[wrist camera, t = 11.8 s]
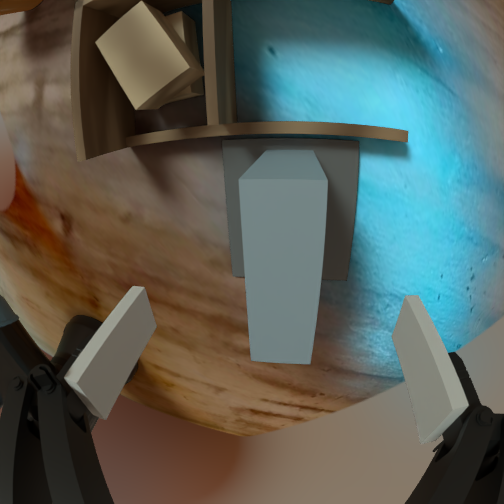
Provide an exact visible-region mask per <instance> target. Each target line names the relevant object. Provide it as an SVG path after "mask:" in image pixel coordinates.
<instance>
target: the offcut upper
mask: <svg viewBox="0 0 504 504" xmlns="http://www.w3.org/2000/svg"><path fill="white" fill-rule="evenodd" d="M95 43H96V44H97V46H98V48H99V49H100V51H101V53H102V55H103V56H104V58H105V60H106V61H107V63H108V65H109V66H110V68H111V70H112V72H113V73H114V75H115V77H116V78H117V80H118V82H119V83H120V85H121V87H122V88H123V90H124V91H125V93H126V95H127V96H128V98H129V100H130V101H131V103H132V105H133V106H134V108H135V109H136V110H145V109H159V108H160V107H161V106H162V105H164V104H165V103H166V102H168V101H169V100H170V99H171V98H173V97H174V96H175V95H177V94H178V93H180V92H181V91H182V90H184V89H185V88H186V87H188V86H189V85H191V84H192V83H194V82H195V81H196V80H198V79H199V78H201V77H202V76H204V75H205V73H204V70H203V68H202V67H201V65H200V64H199V63H198V61H197V60H196V58H195V57H194V55H193V54H192V53H191V51H190V50H189V48H188V47H187V46H186V44H185V43H184V41H183V40H182V39H181V37H180V36H179V35H178V33H177V32H176V30H175V29H174V28H173V26H172V25H171V24H170V22H169V21H168V20H167V18H166V17H165V16H164V14H163V13H162V12H161V11H159V10H157V9H156V8H154V7H152V6H150V5H149V4H147V3H145V2H143V1H140V2H139V3H138V4H137V5H135V6H134V7H133V8H132V9H131V10H129V11H128V12H127V13H126V14H125V15H124V16H122V17H121V18H120V19H119V20H118V21H117V22H116V23H115V24H114V25H112V26H111V27H110V28H109V29H108V30H107V31H106V32H105V33H104V34H103V35H102V36H101V37H100V38H99V39H98V40H97V41H96V42H95Z"/></svg>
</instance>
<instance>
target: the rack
mask: <svg viewBox="0 0 504 504" xmlns="http://www.w3.org/2000/svg"><path fill="white" fill-rule="evenodd" d="M140 1H143V2H145V3H147V4H149V5H150V6H152V7H154V8H156V9H157V10H159V11H161V12H162V13H164V12H167V11H171V10H174V9H178V8H182V7H187V6H191V5H195V4H200V3H202V16H203V49H204V73H205V92H206V109H207V124H208V125H204V126H195V127H186V128H178V129H171V130H164V131H158V132H152V133H146V134H141V135H136V127H135V116H134V106H133V105H132V103H131V101H130V100H129V98H128V96H127V95H126V93H125V91H124V90H123V88H122V87H121V85H120V83H119V82H118V80H117V78H116V77H115V75H114V73H113V72H112V70H111V68H110V66H109V65H108V63H107V61H106V60H105V58H104V56H103V55H102V53H101V51H100V49H99V48H98V46H97V44H96V43H95V42H96V41H97V40H98V39H99V38H100V37H101V36H102V35H103V34H104V33H105V32H106V31H107V30H108V29H109V28H110V27H111V26H112V25H114V24H115V23H116V22H117V21H118V20H119V19H120V18H121V17H122V16H124V15H125V14H126V13H127V12H128V11H129V10H131V9H132V8H133V7H134V6H135V5H137V4H138V3H139V2H140ZM370 1H375V2H381V3H385V4H390V5H391V3H392V2H393V1H394V0H370ZM71 102H72V117H73V128H74V137H75V146H76V153H77V160H78V162H79V161H83V160H87V159H90V158H93V157H96V156H100V155H103V154H106V153H109V152H113V151H116V150H120V149H123V148H127V147H133V146H138V145H144V144H151V143H158V142H165V141H172V140H181V139H190V138H200V137H211V136H224V135H242V134H326V135H343V136H356V137H367V138H377V139H386V140H394V141H401V142H408V131H406V130H400V129H393V128H385V127H377V126H368V125H357V124H345V123H330V122H303V121H270V122H243V123H237V108H236V89H235V69H234V49H233V28H232V6H231V0H78V1H76V2H75V9H74V18H73V28H72V42H71Z"/></svg>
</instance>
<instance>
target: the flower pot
mask: <svg viewBox="0 0 504 504" xmlns="http://www.w3.org/2000/svg"><path fill="white" fill-rule="evenodd" d="M42 1H43V0H0V15H4V14H10V13H16V12H22V11H28V10H31V9H33V8H35V7H36V6H37V5H39V4H40V3H41V2H42Z"/></svg>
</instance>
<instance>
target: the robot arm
mask: <svg viewBox="0 0 504 504" xmlns="http://www.w3.org/2000/svg"><path fill="white" fill-rule="evenodd" d="M156 327H157V326H156V323H155V320H154V317H153V313H152V310H151V307H150V304H149V300H148V297H147V294H146V290H145V287H138V286H132V288H131V289H130V290H129V291H128V292H127V294H126V295H125V296H124V297H123V299H122V300H121V301H120V302H119V304H118V305H117V306H116V307H115V309H114V310H113V311H112V312H111V314H110V315H109V316H108V318H107V319H106V320H105V321H104V323H101V322H99V321H98V320H96V319H93V318H91V317H88V316H84V315H77V316H75V317H73V318H72V319H71V320H70V321H69V323H68V324H67V325H66V327H65V329H64V332H63V336H62V339H61V341H60V343H59V346H58V349H57V352H56V354H55V356H54V357H53V358H52V360H51V361H50V360H49V359H48V358H47V357H46V355H45V354H44V353H43V352H42V351H41V349H40V348H39V347H38V345H37V344H36V343H35V342H34V340H33V339H32V338H31V336H30V335H29V333H28V332H27V331H26V329H25V328H24V326H23V325H22V324H21V322H20V321H19V317H18V315H16V314H15V313H14V312H13V310H12V309H11V307H10V306H9V305H8V303H7V302H6V300H5V299H4V298H3V297H2V296H1V295H0V408H1V407H2V406H3V408H2V413H1V417H0V504H114V502H113V499H112V497H111V494H110V492H109V489H108V487H107V484H106V481H105V478H104V475H103V473H102V470H101V466H100V464H99V460H98V457H97V454H96V450H95V446H94V443H93V439H92V435H91V432H92V430H93V428H94V426H95V424H96V422H97V420H98V418H99V417H100V418H102V419H105V420H106V419H107V417H108V414H109V413H110V411H111V409H112V407H113V405H114V403H115V401H116V399H117V397H118V395H119V394H120V392H121V390H122V388H123V386H124V385H125V384H127V383H128V382H130V381H131V380H132V378H133V377H134V375H135V373H136V371H137V369H138V363H137V361H138V359H139V357H140V355H141V353H142V352H143V350H144V348H145V346H146V345H147V343H148V341H149V339H150V338H151V336H152V334H153V332H154V331H155V329H156ZM392 339H393V342H394V345H395V348H396V351H397V355H398V358H399V361H400V364H401V368H402V371H403V374H404V378H405V381H406V385H407V389H408V392H409V396H410V400H411V404H412V408H413V412H414V417H415V421H416V425H417V430H418V434H419V440H420V444H424V443H428V442H432V441H435V440H437V439H438V438H439V437H440V436H441V434H442V435H443V439H444V440H443V441H442V442H441V443H440V444H439V445H438V446H436V448H435V449H434V450H433V452H435V451H436V450H437V449H438V450H437V452H436V454H435V456H434V457H433V459H432V461H431V463H430V465H429V467H428V468H427V470H426V472H425V473H424V475H423V477H422V478H421V480H420V482H419V483H418V485H417V486H416V488H415V489H414V491H413V492H412V494H411V495H410V497H409V498H408V500H407V501H406V502H405V504H504V414H494V413H493V412H492V410H491V409H490V408H488V407H487V406H483V405H481V403H480V401H479V398H478V395H477V393H476V390H475V388H474V386H473V383H472V381H471V378H469V374H468V372H467V371H466V367H465V365H464V363H463V361H462V359H461V358H460V357H459V356H458V355H457V354H456V353H455V352H451V353H447V350H446V348H445V346H444V344H443V342H442V340H441V338H440V336H439V334H438V332H437V330H436V328H435V326H434V324H433V322H432V320H431V318H430V316H429V314H428V312H427V310H426V309H425V307H424V305H423V303H422V301H421V299H420V298H419V296H418V295H412V296H405V298H404V301H403V305H402V308H401V311H400V314H399V317H398V320H397V323H396V326H395V329H394V332H393V334H392Z"/></svg>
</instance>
